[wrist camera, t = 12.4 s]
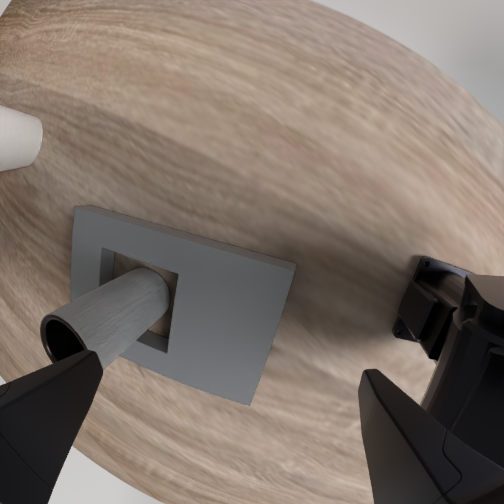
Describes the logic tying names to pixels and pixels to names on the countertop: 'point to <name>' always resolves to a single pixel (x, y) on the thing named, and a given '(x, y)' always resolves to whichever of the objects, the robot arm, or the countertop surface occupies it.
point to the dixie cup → (18, 138)
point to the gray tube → (106, 317)
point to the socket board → (191, 299)
